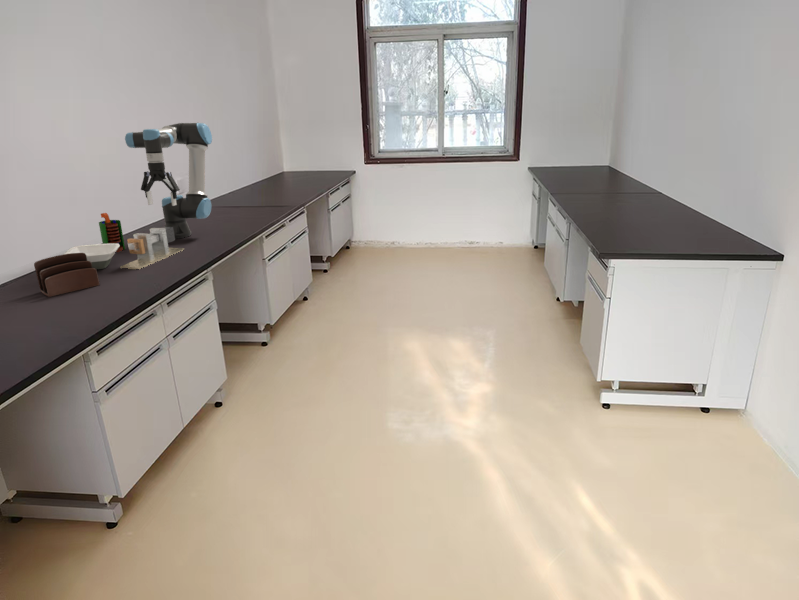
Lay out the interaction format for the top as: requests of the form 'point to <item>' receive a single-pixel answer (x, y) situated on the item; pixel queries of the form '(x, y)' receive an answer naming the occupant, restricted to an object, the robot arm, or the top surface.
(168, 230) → the shaft
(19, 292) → the top surface
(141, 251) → the spacer
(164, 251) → the frame
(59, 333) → the top surface
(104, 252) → the bowl
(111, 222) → the motor
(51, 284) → the letter holder
